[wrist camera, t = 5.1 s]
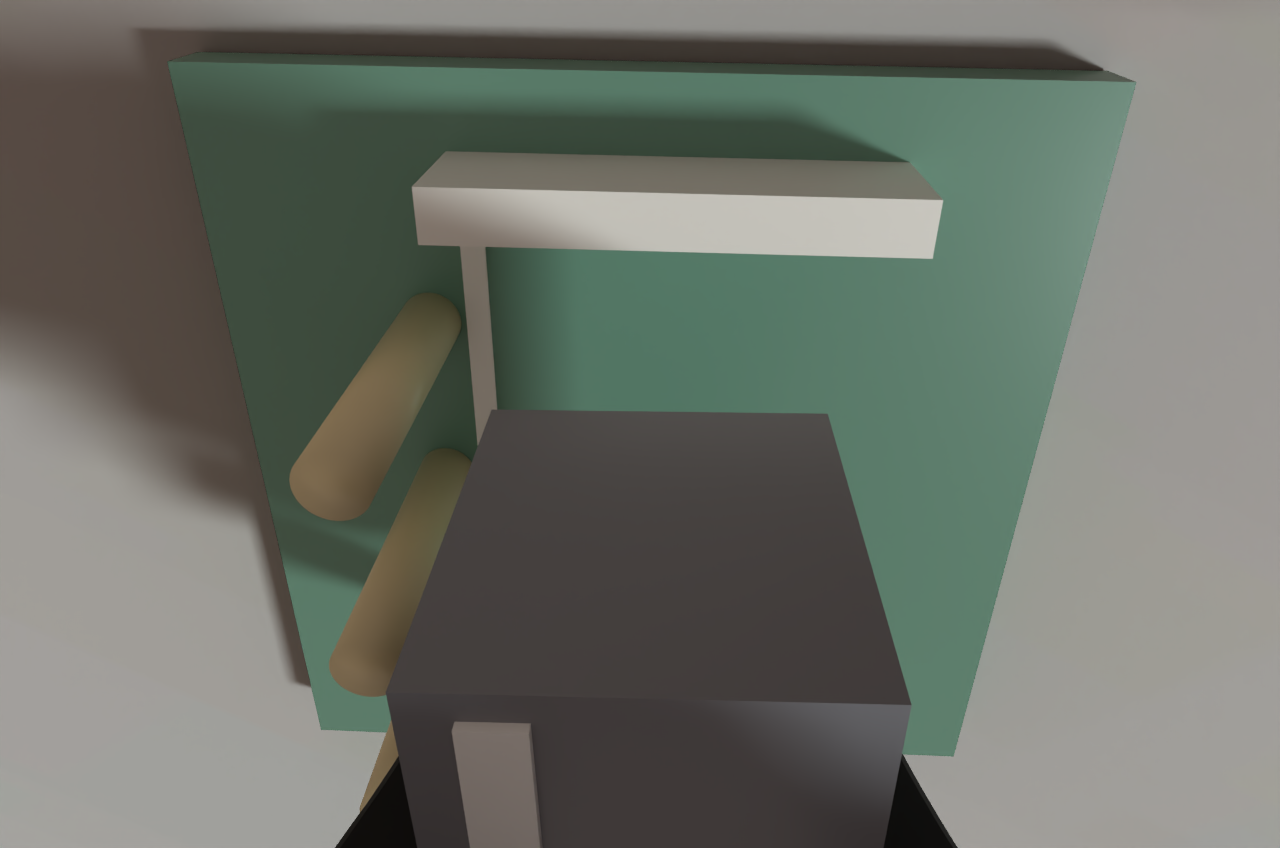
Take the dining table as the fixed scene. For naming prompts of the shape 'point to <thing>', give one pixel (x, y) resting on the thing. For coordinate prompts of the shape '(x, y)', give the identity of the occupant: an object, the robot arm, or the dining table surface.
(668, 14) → the dining table surface
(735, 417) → the block
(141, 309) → the dining table surface
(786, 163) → the header board
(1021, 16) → the dining table surface
